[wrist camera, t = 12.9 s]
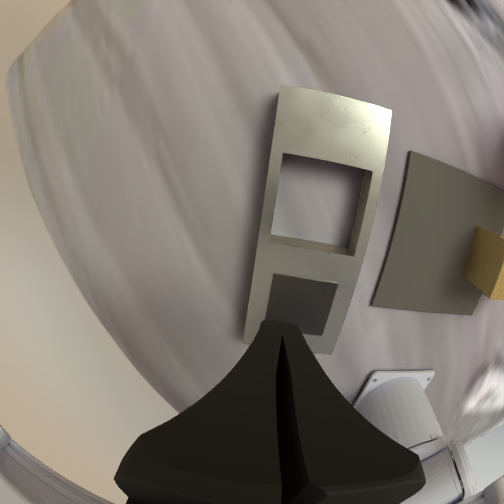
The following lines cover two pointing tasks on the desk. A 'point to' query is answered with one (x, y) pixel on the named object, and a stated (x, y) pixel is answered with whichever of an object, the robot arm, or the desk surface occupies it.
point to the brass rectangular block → (486, 263)
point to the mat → (436, 238)
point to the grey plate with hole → (307, 252)
